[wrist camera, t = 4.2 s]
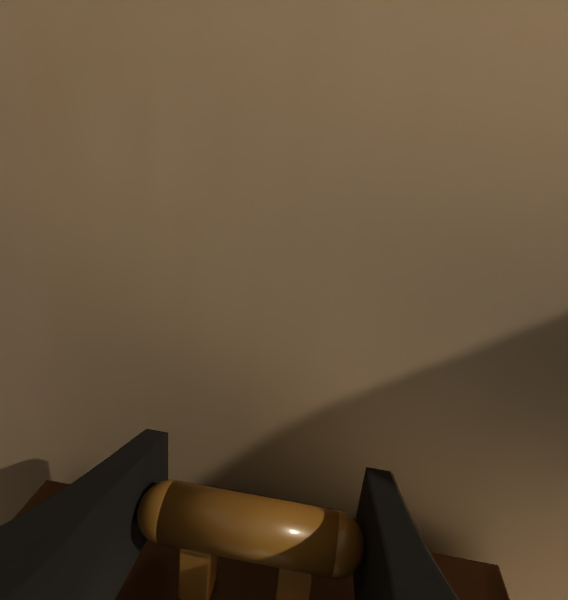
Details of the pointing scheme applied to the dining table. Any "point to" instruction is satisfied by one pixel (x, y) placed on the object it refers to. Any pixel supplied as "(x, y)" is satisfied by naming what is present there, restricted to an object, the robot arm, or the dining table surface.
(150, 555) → the drawer
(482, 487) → the dining table surface
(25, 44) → the dining table surface
